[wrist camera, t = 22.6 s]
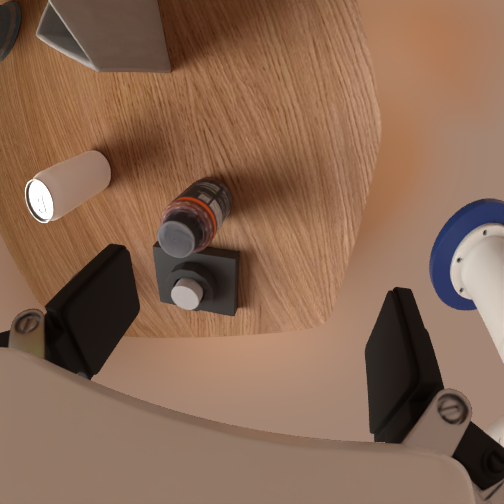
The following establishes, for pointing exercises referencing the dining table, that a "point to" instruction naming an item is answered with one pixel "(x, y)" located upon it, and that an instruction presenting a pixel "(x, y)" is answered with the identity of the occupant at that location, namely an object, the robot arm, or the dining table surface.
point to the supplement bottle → (194, 217)
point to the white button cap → (187, 293)
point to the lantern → (8, 26)
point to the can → (67, 185)
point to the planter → (107, 34)
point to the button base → (201, 277)
